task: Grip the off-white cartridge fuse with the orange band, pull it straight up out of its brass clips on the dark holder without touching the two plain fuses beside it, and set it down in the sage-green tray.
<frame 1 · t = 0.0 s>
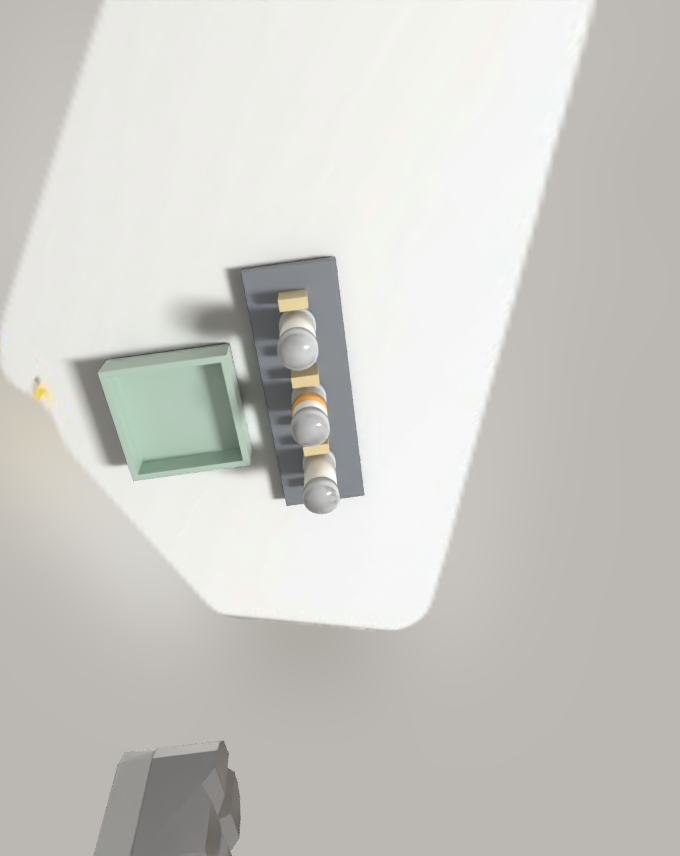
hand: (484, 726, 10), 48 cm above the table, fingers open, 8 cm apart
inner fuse: (297, 322, 55), point 1 cm above the table, touching fuse holder
outer fuse: (318, 458, 61), point 1 cm above the table, touching fuse holder
marked fuse: (308, 394, 58), point 1 cm above the table, touching fuse holder
fuse holder: (308, 389, 59), on the table
parts tray: (182, 406, 59), on the table
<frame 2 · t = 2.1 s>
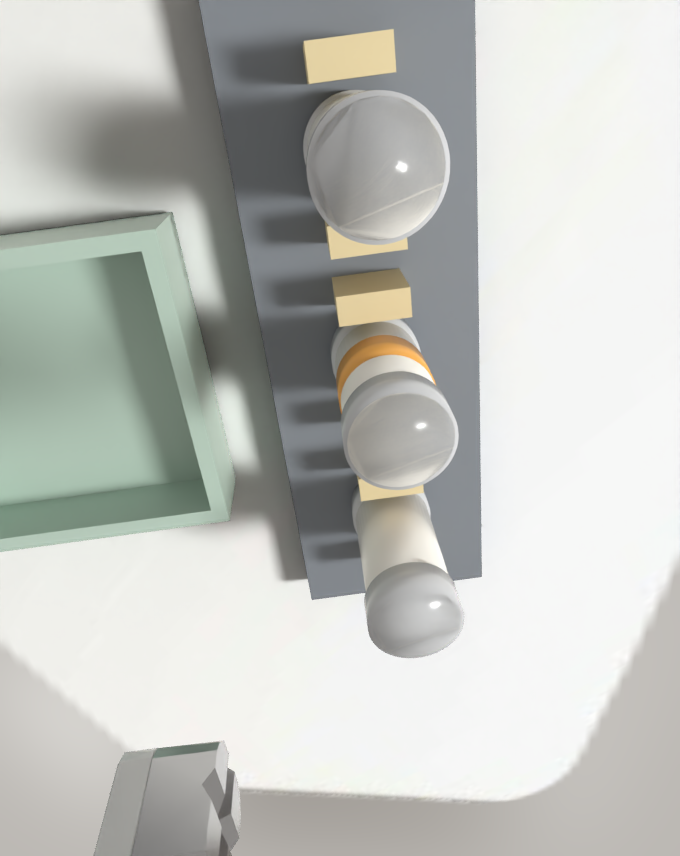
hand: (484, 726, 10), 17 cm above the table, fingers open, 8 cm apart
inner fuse: (352, 146, 20), point 1 cm above the table, touching fuse holder
outer fuse: (388, 501, 27), point 1 cm above the table, touching fuse holder
marked fuse: (373, 349, 23), point 1 cm above the table, touching fuse holder
fuse holder: (369, 338, 24), on the table
parts tray: (65, 379, 24), on the table
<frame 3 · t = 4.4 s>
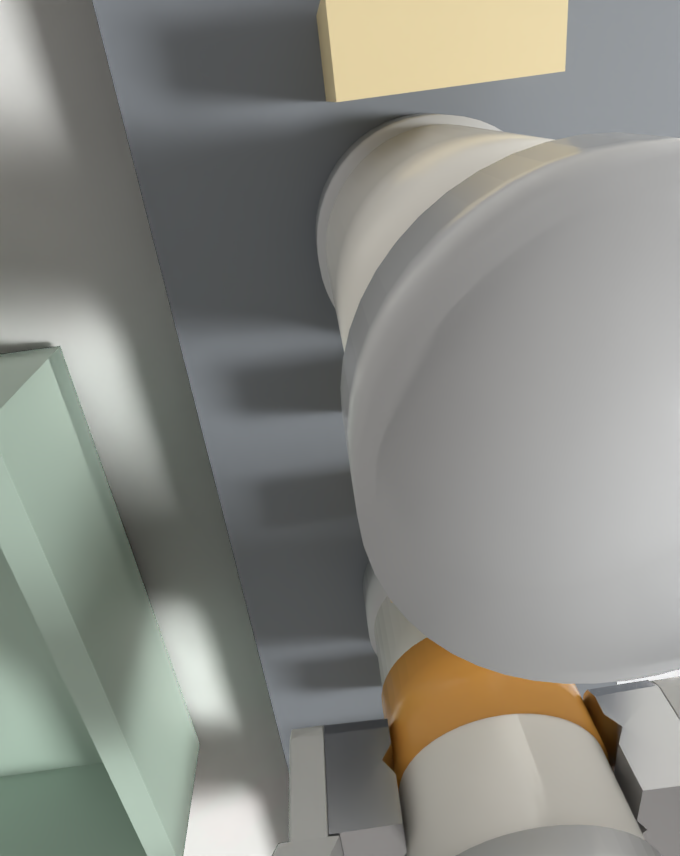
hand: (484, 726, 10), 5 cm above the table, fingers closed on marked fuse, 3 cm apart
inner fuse: (420, 230, 10), point 1 cm above the table, touching fuse holder
marked fuse: (440, 580, 13), point 1 cm above the table, touching fuse holder, gripper
fuse holder: (429, 543, 14), on the table
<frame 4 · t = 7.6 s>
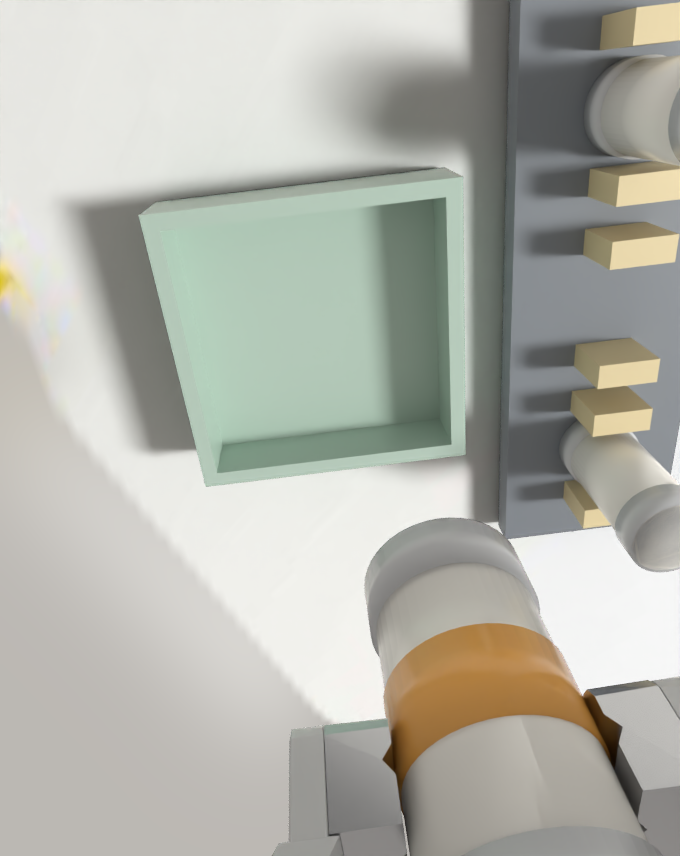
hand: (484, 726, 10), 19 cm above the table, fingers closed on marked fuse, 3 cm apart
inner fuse: (627, 108, 22), point 1 cm above the table, touching fuse holder
outer fuse: (592, 444, 29), point 1 cm above the table, touching fuse holder
marked fuse: (442, 581, 13), point 16 cm above the table, touching gripper
fuse holder: (595, 289, 27), on the table
parts tray: (317, 323, 27), on the table
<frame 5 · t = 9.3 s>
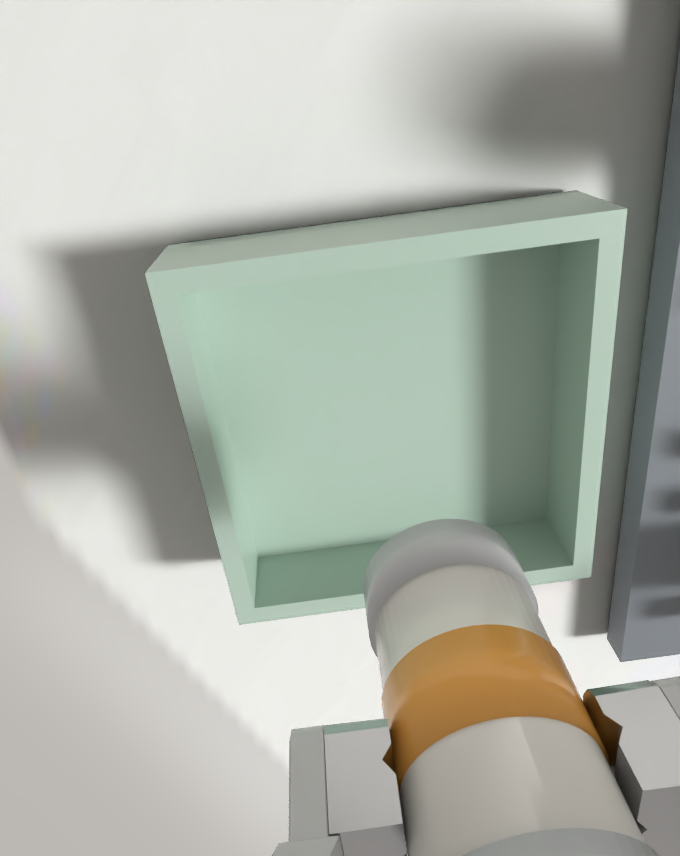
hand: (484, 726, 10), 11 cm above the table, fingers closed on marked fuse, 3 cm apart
marked fuse: (440, 582, 13), point 8 cm above the table, touching gripper
parts tray: (388, 401, 20), on the table
when the fingers open (6 cm above the table, at t = 10.9 s): marked fuse drops 2 cm, resting on parts tray.
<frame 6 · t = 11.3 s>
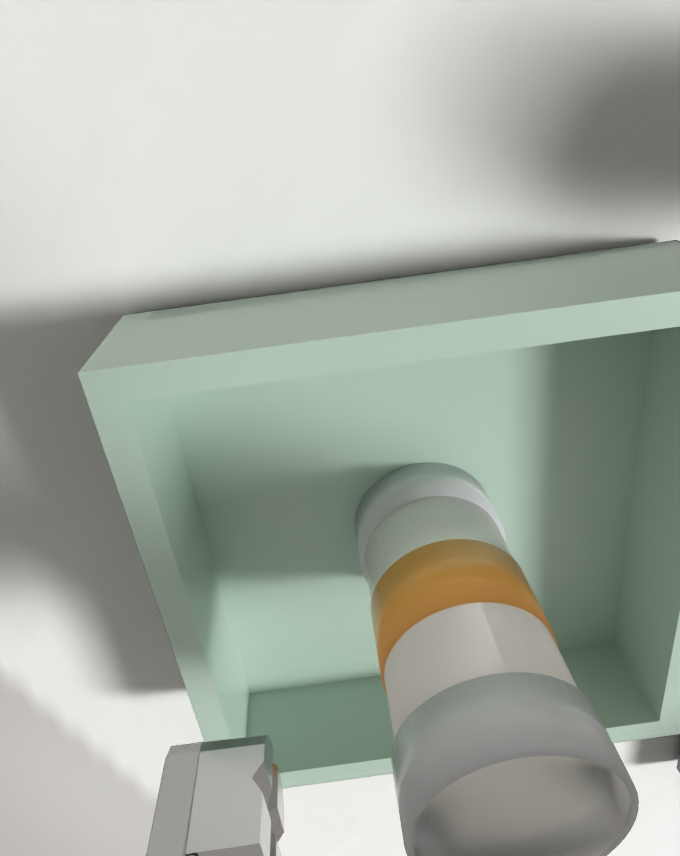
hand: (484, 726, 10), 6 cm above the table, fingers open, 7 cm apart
marked fuse: (422, 521, 15), point 1 cm above the table, touching parts tray
parts tray: (416, 505, 15), on the table
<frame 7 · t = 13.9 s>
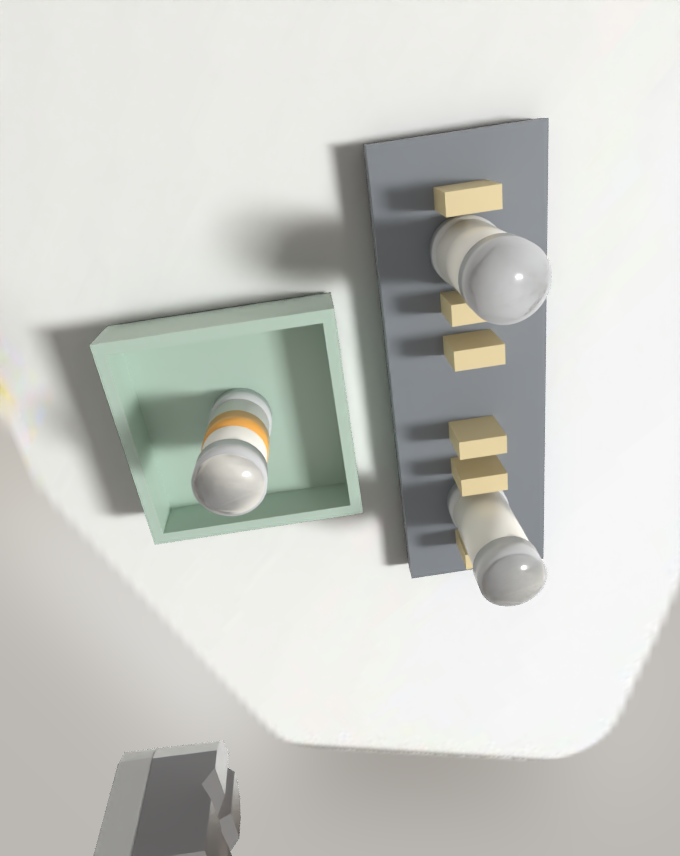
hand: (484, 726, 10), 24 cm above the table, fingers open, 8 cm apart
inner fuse: (462, 248, 29), point 1 cm above the table, touching fuse holder
outer fuse: (474, 498, 35), point 1 cm above the table, touching fuse holder
marked fuse: (241, 415, 33), point 1 cm above the table, touching parts tray
fuse holder: (463, 377, 33), on the table
parts tray: (241, 410, 33), on the table
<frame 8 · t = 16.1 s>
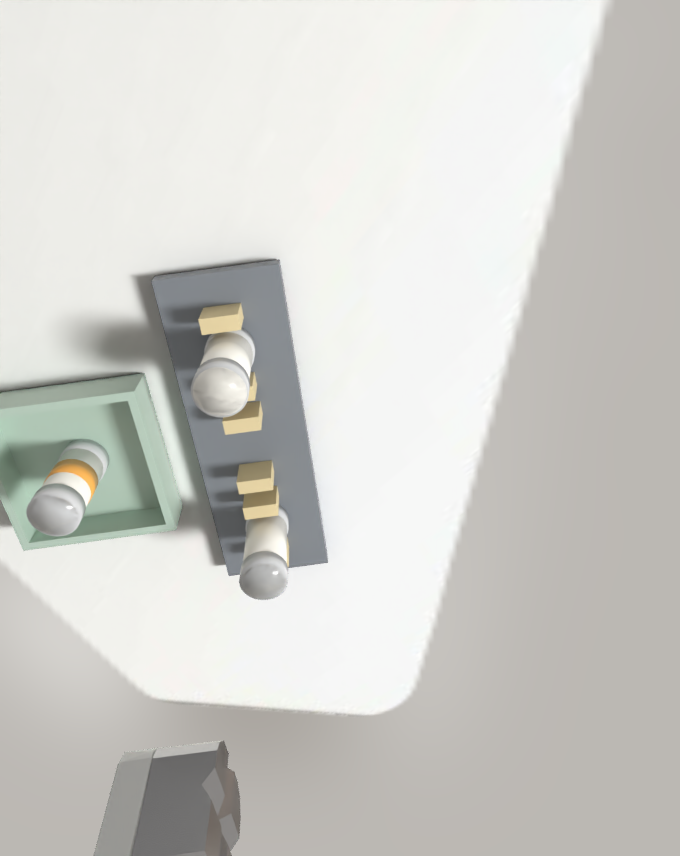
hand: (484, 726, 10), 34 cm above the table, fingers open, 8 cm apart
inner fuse: (231, 347, 41), point 1 cm above the table, touching fuse holder
outer fuse: (267, 519, 48), point 1 cm above the table, touching fuse holder
marked fuse: (86, 458, 45), point 1 cm above the table, touching parts tray
fuse holder: (251, 431, 45), on the table
parts tray: (88, 453, 45), on the table
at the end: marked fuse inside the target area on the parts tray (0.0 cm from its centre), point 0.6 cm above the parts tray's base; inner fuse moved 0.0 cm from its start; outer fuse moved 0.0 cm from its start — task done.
